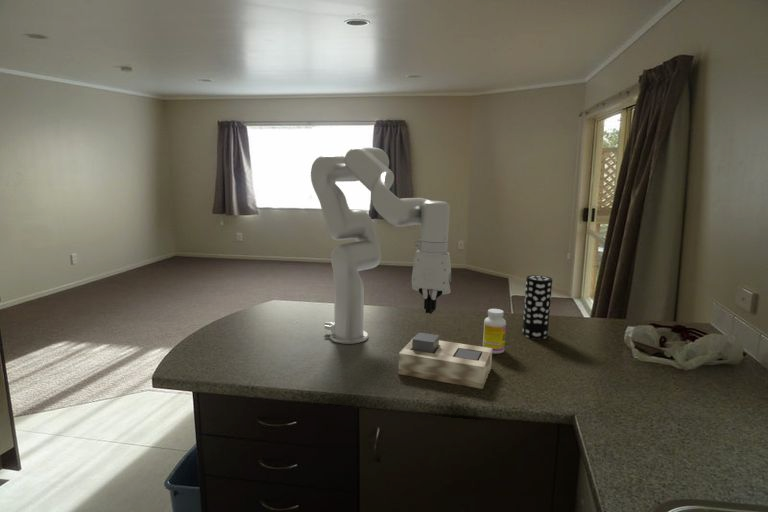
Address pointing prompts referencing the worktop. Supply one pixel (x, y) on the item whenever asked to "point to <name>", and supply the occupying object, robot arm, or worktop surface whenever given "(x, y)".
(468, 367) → the switch box
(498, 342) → the supplement bottle
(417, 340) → the cap
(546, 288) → the white-spotted black cylinder
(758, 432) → the worktop surface
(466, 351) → the cap
